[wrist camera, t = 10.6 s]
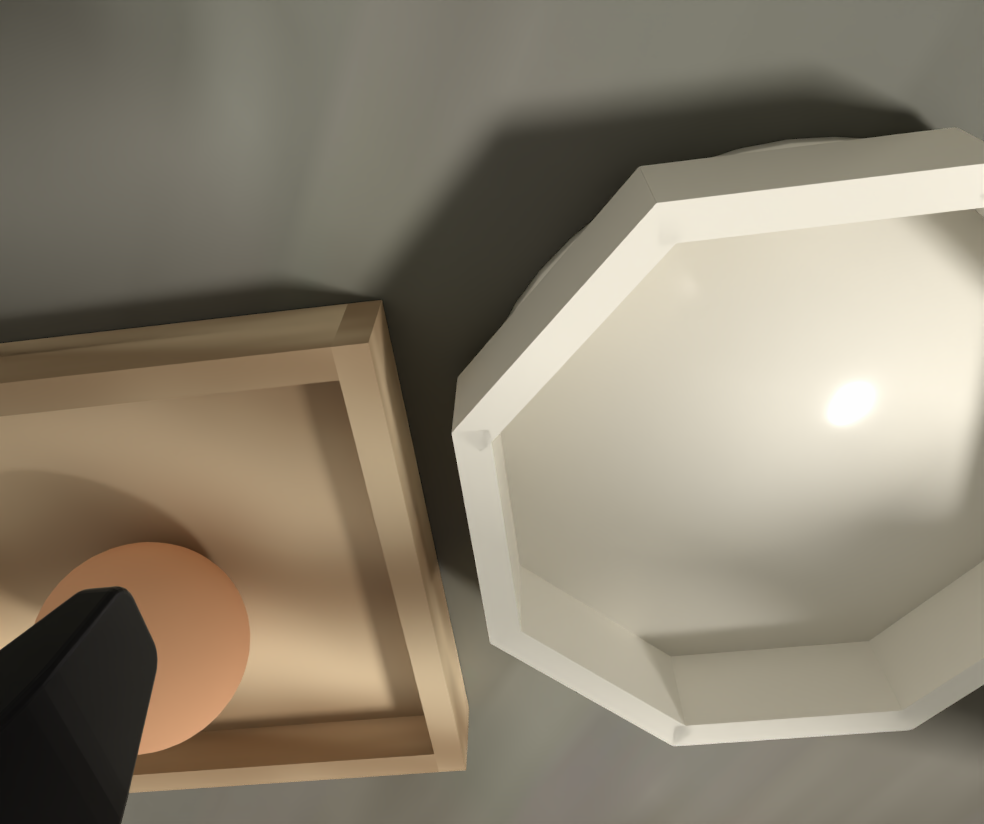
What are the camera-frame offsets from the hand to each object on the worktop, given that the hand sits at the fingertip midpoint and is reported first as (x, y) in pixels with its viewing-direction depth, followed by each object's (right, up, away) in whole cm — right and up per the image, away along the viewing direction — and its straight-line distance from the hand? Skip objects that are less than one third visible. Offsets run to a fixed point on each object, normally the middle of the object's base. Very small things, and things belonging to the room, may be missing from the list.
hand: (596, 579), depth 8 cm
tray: (-10, -3, +16) cm, 19 cm away
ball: (-10, -3, +15) cm, 18 cm away
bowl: (+6, +1, +13) cm, 15 cm away
